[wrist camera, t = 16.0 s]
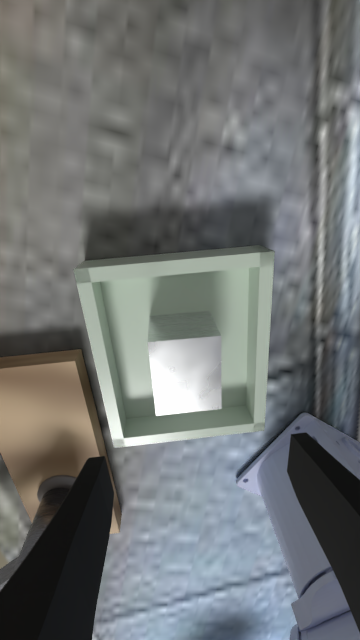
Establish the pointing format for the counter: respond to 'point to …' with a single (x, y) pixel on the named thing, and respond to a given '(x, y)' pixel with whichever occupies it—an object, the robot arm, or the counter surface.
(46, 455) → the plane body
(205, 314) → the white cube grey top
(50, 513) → the lever
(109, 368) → the tray
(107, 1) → the counter surface
